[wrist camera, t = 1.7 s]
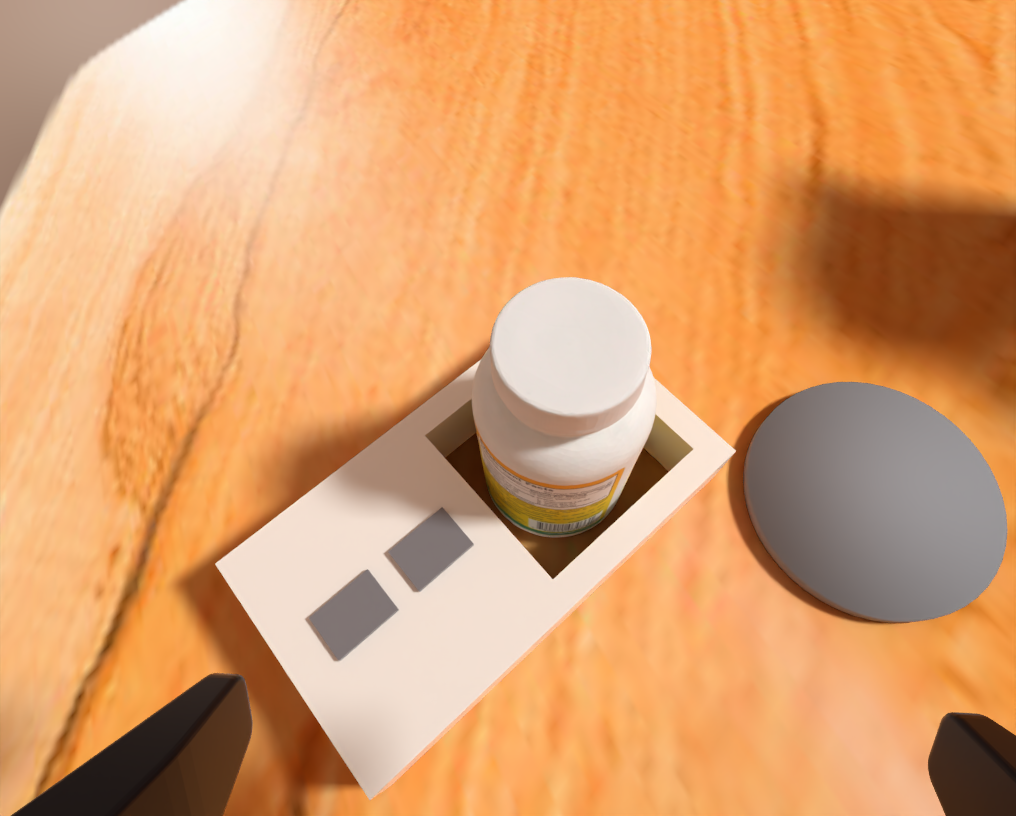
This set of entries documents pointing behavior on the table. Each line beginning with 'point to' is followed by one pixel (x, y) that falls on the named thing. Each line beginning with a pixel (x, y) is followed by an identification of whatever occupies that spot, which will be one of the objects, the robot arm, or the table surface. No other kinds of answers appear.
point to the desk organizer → (428, 580)
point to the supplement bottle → (563, 404)
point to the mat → (875, 503)
